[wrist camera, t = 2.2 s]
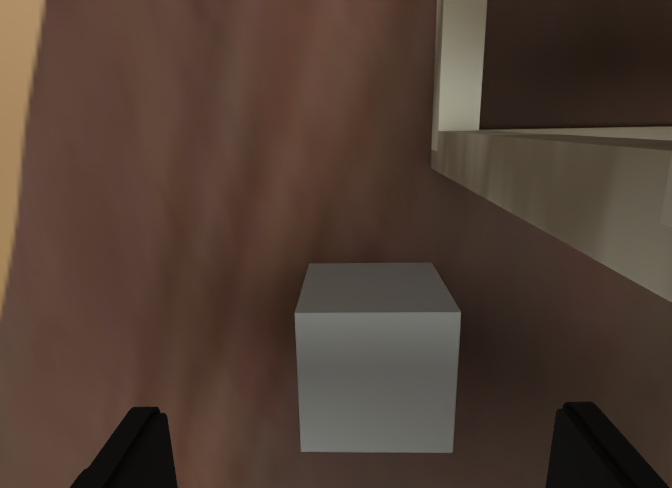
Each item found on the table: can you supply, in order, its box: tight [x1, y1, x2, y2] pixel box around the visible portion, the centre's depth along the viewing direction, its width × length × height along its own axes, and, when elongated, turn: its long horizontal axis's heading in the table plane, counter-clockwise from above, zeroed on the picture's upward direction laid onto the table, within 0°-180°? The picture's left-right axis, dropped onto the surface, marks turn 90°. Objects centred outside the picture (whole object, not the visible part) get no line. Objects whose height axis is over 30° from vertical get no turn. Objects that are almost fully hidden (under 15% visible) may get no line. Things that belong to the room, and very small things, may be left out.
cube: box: [295, 262, 461, 453], centre depth 16 cm, size 5×5×5 cm
